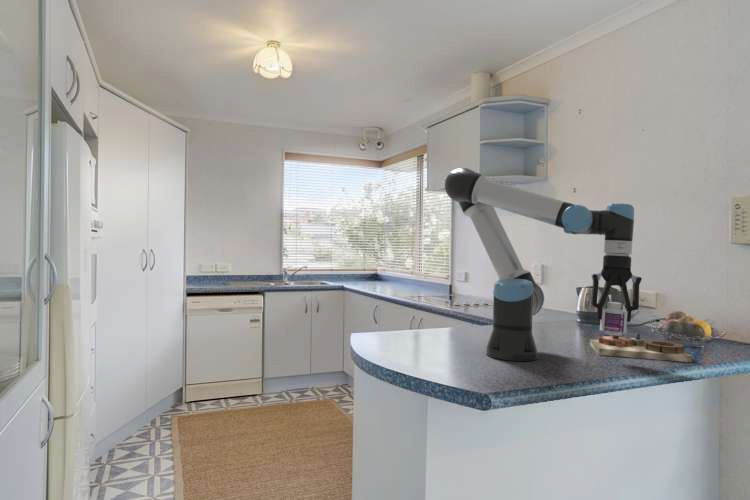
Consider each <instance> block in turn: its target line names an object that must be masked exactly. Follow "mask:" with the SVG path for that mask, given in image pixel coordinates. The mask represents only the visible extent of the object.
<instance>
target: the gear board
mask: <svg viewBox="0 0 750 500" xmlns="http://www.w3.org/2000/svg"><path fill="white" fill-rule="evenodd" d="M597 338H598V339H592V338H591V339H590V340H589V345H590V347H591V348H592V349H593V350H594V352H596V353H597V354H598V355H599V356H610V357H620V358H621V357H623V358H633V359H634V358H635V359H645V360H659V361H670V362H671V361H673V362H681V363H683V362H684V363H693V355H692V354H690V353H688V352H686V351H685V350H686V349H685V347H686V346H685V345H683V344H681V343H677V342H673V341H672V342H671V341H665V340H654V339H651V340H647V339H646V338H641V334H640V333H635V335H634V337H625V336H624V337H623V336H621V337H620V336H616V335H608V336H606V335H599V336H598V337H597Z"/></svg>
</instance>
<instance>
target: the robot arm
mask: <svg viewBox="0 0 750 500" xmlns="http://www.w3.org/2000/svg"><path fill="white" fill-rule="evenodd" d="M444 189H445V190H444V191H445V193H446V194H447V196H448V197H449V198H450V199H451V200H453V201H454V202H458V204H459V206H460V208H461V210H462V212H463V215H464V216H467V217H470V219H471V222H472V223H473V226H474V227H475V230H476V232H477V234H478V236H479V239H480V241H481V243H482V245H483V247H484V250H485V252H486V253H487V256H488V257H489V258H488V259H489V260H490V262H491V264H492V266H493V269H494V270H495V272H496V275H497V277H498V280H497V281H496V282H495V283H494V286H493V290H492V291H493V292H492V294H493V305H492V306H493V310H492V314H493V315H492V331H491V334H490V337H489V340H488V342H487V345H486V351H485V353H486V355H487V356H488V357H490V358H495V359H498V360H503V361H512V362H529V361H530V362H531V361H536V360H537V359H538V353H539V352H538V348H537V345H536V341H535V338H534V334H533V316H536V315H537V314H538V313H539V312H540V311H541V309H542V308H543V306H544V302H545V294H544V291H543V289H542V288H541V286H540V285H538V283H536V281H535V279H534V277H533V275H532V273H531V272H530V271H529V270H527V269H525V268H523V266H522V263H521V261H520V259H519V257H518V255H517V253H516V251H515V248H514V247H513V245H512V244H513V243H512V242H511V240H510V238H509V236H508V235H507V232H506V229H505V228H504V225H503V224H502V222H501V220H500V218H499V216H498V213H497V212H496V210H495V208H498V209H500V210H503V211H507V212H510V213H513V214H516V215H520V216H524V217H526V218H529V219H533V220H536V221H539V222H542V223H546V224H549V225H553V226H554V227H557V228H561V229H563V231H564V233H565V234H567V235H568V234H571V235H599V236H602V235H604V244H603V245H604V246H603V253H604V254H605V255H603V259H602V260H603V261H602V264H603V265H602V270H601V271H600V272H598V273H592V274H591V279H592V290H591V300H590V304H591V306H592V307H595V308H596V309H597V310H596V319H597V320H600V322H599V331H601V332H603V331H604V324H605V309H606V308H604V306H605V303H606V301H607V298H608V295H609V293H610V289H611V288H612V286H618V287H619V289H620V291H621V296H622V301H623V304H624V309H625V310H622V311H623V312H624V317H623V332H622V334H627V328H628V327H627V324H628V323H631V320H632V319H631V318H632V312H633V311H637V310H639V309H640V307H639V306H640V303H639V302H640V284H641V283H642V277H641V276H637V275H633V273H632V271H631V270H632V257H631V256H630V255H632V253H633V252H632V251H633V237H634V225H635V207H634V205H632V204H630V203H608V204H607V205H606V208H605V209H603V210H591V209H589V208H587V206H584V205H581V204H573V203H570V202H567V201H566V202H565V201H563V200H560V199H556V198H553V197H549V196H546V195H544V194H543V195H542V194H540V193H535V192H531V191H528V190H526V189H521V188H519V187H515V186H511V185H507V184H504V183H501V182H498V181H493V180H490V179H488V178H487V177H486V175H485V174H482V173H480V172H476V171H474V170H473V169H470V168H468V167H459V168H458V167H457V168H456V169H453V170H451V172H449V173H448V175H447V176H446V177H445V181H444ZM601 277H602V278H603V280H604V283H605V284H604V286H603V289H602V292H601V295H600V296H599V295H598V293H599V282H600V280H601ZM629 280H631V283H632V296H631V297H632V298H631V299H632V301H631V300H630V296H629V293H628V286H627V283H628V282H629ZM598 296H599V300H598Z"/></svg>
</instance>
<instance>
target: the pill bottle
mask: <svg viewBox="0 0 750 500" xmlns="http://www.w3.org/2000/svg"><path fill="white" fill-rule="evenodd" d="M606 306H607V307H606V308H604V309H605V324H604V331H602V333H603V334H605V335H608V336H613V335H616V336H619V337H620V336H622V335H623V317H624V312H623V310H622V306H623V304H622V302H618V301H617V302H616V301H607V302H606Z"/></svg>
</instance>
